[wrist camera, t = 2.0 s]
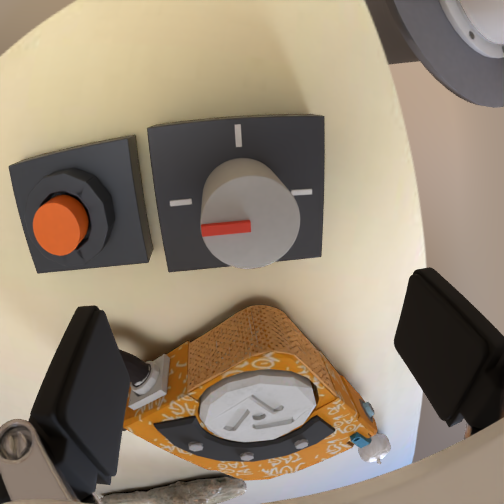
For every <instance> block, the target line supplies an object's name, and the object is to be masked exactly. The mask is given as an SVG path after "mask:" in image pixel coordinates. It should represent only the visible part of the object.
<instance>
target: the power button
mask: <svg viewBox="0 0 504 504" xmlns="http://www.w3.org/2000/svg"><path fill="white" fill-rule="evenodd" d="M88 226H89V220H88V215H87V212H86V210H85V208H84V207H83V205H82V204H81V203H80V202H79V201H78V200H77V199H75V198H74V197H72V196H69V195H58V196H55V197H53V198H52V199H50V200H49V201H48V202H46V203H45V204H44V205H42V206H41V207H40V208H39V209H38V210H37V212H36V213H35V216H34V219H33V231H34V234H35V237H36V239H37V241H38V243H39V244H40V245H41V247H42V248H43V249H45V250H46V251H47V252H49V253H51V254H54V255H59V256H61V255H67V254H69V253H71V252H72V251H73V250H74V249H75V248H76V247H77V246H78V245H79V243H80V242H81V241H82V240H83V238H84V237H85V235H86V234H87V231H88Z"/></svg>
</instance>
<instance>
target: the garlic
mask: <svg viewBox="0 0 504 504" xmlns="http://www.w3.org/2000/svg"><path fill="white" fill-rule="evenodd" d="M371 439H372V441H371V443H370V444H369V445H367V446H365V447H363V448H360V447H359V448H358V451H359V454H360V457H361V458H362V459H363V460H364V461H365V462H374V461H377V463H378V464H381V462H380V459H382V458H383V457H385V456H386V455H387V453H388V452H389V451H390V449H391V445H390V443H389V440H388V438H387V436H386V435H384V434H380V433H376V435H374V436H372V437H371Z"/></svg>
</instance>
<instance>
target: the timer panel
mask: <svg viewBox="0 0 504 504" xmlns="http://www.w3.org/2000/svg"><path fill="white" fill-rule="evenodd" d="M147 132H148V141H149V150H150V158H151V166H152V174H153V182H154V189H155V196H156V202H157V209H158V215H159V221H160V227H161V233H162V239H163V245H164V250H165V256H166V261H167V266H168V271H169V272H176V271H187V270H197V269H207V268H217V267H228V266H230V265H228V264H226V263H224V262H222V261H220V260H219V259H218V258H216V257H215V256H214V255H213V254H212V253H211V252H210V250H209V249H208V248H207V246H206V244H205V242H204V240H203V237H202V234H201V227H200V220H201V207H202V195H203V188H204V185H205V182H206V180H207V178H208V176H209V175H210V174H211V172H212V171H213V170H214V169H215V168H216V167H218V166H219V165H221V164H222V163H224V162H226V161H229V160H232V159H237V158H249V159H253V160H257V161H259V162H261V163H263V164H265V165H266V166H267V167H269V168H270V169H271V170H272V172H273V173H274V174H275V175H276V176H277V177H278V178H279V179H280V181H281V182H282V183H283V184H284V185H285V186H286V188H287V189H288V190H289V191H290V192H291V194H292V195H293V196H294V198H295V200H296V202H297V205H298V207H299V212H300V227H299V232H298V235H297V238H296V240H295V242H294V243H293V245H292V246H291V248H290V249H289V250H288V251H287V253H286V254H284V255H283V256H282V257H281V258H280V259H278V260H277V261H287V260H296V259H306V258H315V257H321V253H322V233H323V207H324V116H320V115H313V114H276V115H250V116H234V117H220V118H209V119H198V120H189V121H180V122H172V123H165V124H158V125H154V126H151V127H149V128H147ZM277 261H275V262H277Z"/></svg>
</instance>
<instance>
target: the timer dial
mask: <svg viewBox="0 0 504 504" xmlns="http://www.w3.org/2000/svg"><path fill="white" fill-rule="evenodd" d="M200 227H201V234H202V237H203V240H204V242H205V244H206V246H207V248H208V249H209V250H210V252H211V253H212V254H213V255H214V256H215V257H216V258H218V259H219V260H220V261H222V262H224V263H226V264H228V265H230V266H233V267H237V268H244V269H253V268H260V267H263V266H266V265H269V264H271V263H273V262H275V261H277V260H278V259H280V258H281V257H282V256H283V255H284V254H286V253H287V251H288V250H289V249H290V248H291V246H292V245H293V243H294V242H295V240H296V238H297V235H298V232H299V227H300V212H299V207H298V205H297V202H296V200H295V198H294V196H293V195H292V194H291V192H290V191H289V190H288V189H287V188H286V186H285V185H284V184H283V183H282V182H281V181H280V179H279V178H278V177H277V176H276V175H275V174H274V173H273V172H272V170H271V169H270V168H269V167H267V166H266V165H265V164H263V163H261V162H259V161H257V160H253V159H249V158H237V159H232V160H229V161H226V162H224V163H222V164H221V165H219V166H218V167H216V168H215V169H214V170H213V171H212V172H211V174H210V175H209V176H208V178H207V180H206V182H205V185H204V188H203V195H202V207H201V220H200Z"/></svg>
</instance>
